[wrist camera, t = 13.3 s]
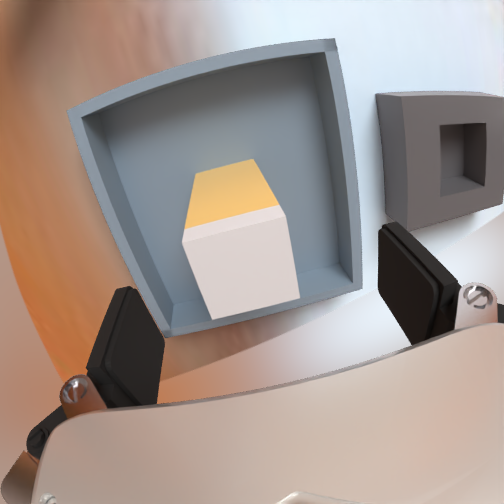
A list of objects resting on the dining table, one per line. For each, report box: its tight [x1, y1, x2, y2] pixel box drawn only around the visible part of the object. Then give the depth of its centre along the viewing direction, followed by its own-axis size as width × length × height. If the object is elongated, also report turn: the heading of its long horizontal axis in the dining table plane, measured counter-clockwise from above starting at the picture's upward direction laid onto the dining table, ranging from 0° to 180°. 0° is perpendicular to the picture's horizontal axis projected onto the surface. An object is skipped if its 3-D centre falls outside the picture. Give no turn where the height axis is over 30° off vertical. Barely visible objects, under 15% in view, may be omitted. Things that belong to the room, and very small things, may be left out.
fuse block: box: [376, 91, 504, 231], centre depth 20 cm, size 12×10×4 cm
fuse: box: [182, 159, 300, 320], centre depth 17 cm, size 4×4×10 cm
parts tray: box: [67, 38, 362, 338], centre depth 20 cm, size 16×18×4 cm
